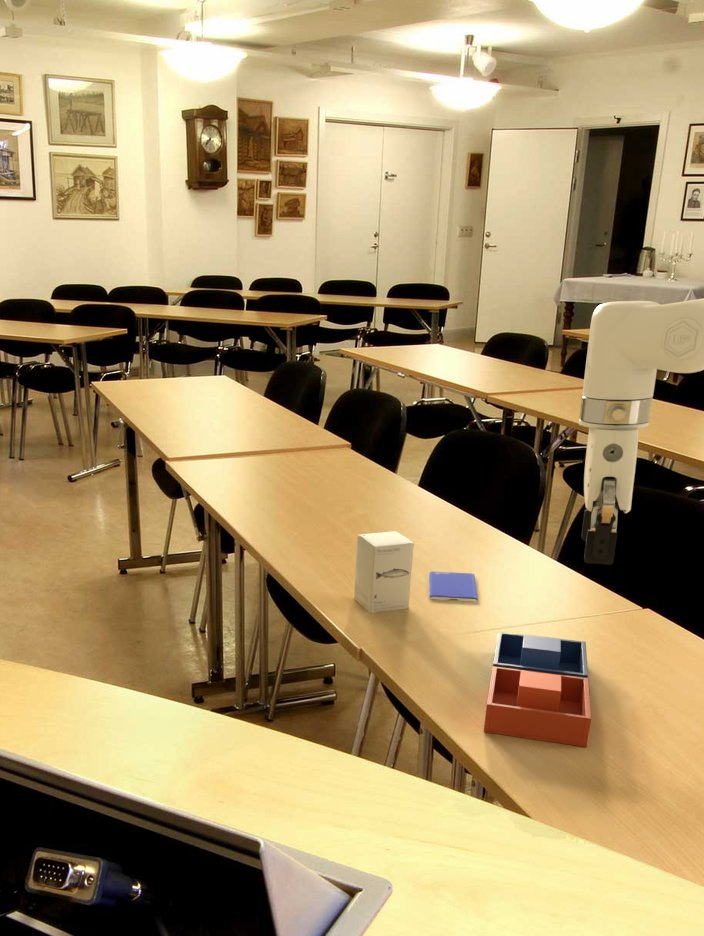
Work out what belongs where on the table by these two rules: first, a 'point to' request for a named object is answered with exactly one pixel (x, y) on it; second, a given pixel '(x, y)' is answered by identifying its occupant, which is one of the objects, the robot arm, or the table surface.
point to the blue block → (540, 652)
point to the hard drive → (452, 586)
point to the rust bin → (534, 723)
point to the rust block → (539, 691)
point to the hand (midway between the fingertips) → (596, 551)
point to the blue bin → (569, 664)
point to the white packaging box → (383, 571)
